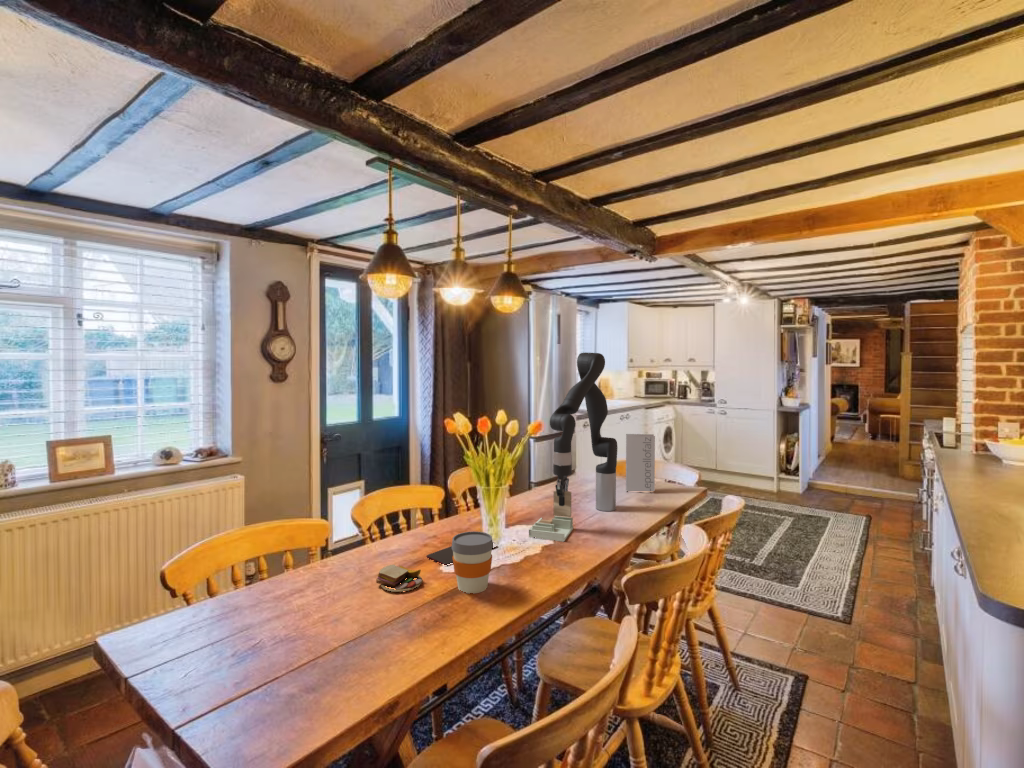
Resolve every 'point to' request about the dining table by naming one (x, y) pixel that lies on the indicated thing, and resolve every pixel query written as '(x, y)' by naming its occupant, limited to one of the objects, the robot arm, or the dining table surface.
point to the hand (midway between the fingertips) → (562, 504)
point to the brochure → (640, 462)
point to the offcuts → (545, 521)
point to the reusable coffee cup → (472, 560)
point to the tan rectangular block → (564, 509)
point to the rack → (553, 529)
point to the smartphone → (442, 556)
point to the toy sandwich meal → (398, 578)
